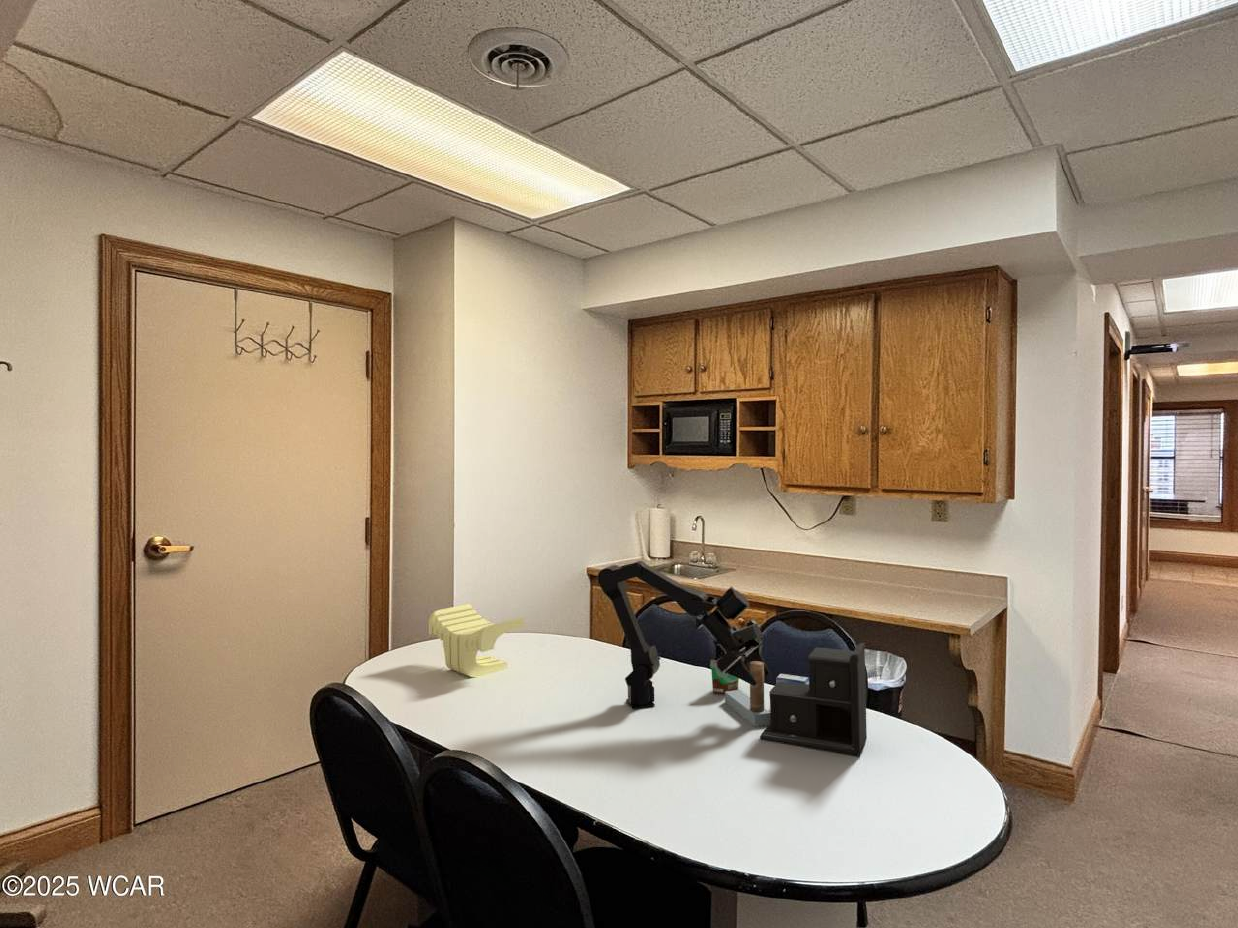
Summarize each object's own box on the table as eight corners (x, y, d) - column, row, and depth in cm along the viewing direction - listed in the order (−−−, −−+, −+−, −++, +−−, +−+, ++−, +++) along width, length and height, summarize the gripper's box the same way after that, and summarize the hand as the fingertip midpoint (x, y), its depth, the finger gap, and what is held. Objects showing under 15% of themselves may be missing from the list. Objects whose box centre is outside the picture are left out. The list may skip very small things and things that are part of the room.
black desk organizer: (759, 740, 171) (758, 643, 171) (771, 724, 181) (770, 632, 180) (860, 758, 160) (859, 655, 160) (867, 740, 170) (866, 642, 170)
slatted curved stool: (429, 665, 234) (428, 611, 233) (470, 655, 245) (469, 603, 245) (482, 686, 213) (481, 627, 212) (524, 673, 224) (523, 617, 224)
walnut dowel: (754, 712, 180) (753, 665, 180) (747, 707, 184) (747, 661, 184) (766, 711, 181) (766, 664, 181) (760, 706, 185) (759, 660, 185)
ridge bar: (754, 726, 179) (754, 714, 179) (725, 702, 196) (724, 691, 196) (770, 724, 180) (770, 712, 180) (740, 700, 198) (739, 689, 198)
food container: (729, 699, 199) (729, 663, 199) (710, 694, 202) (709, 660, 202) (749, 687, 209) (749, 653, 208) (731, 683, 212) (730, 649, 212)
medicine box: (776, 709, 191) (775, 677, 191) (780, 703, 195) (780, 672, 195) (805, 714, 187) (805, 681, 187) (809, 708, 191) (809, 676, 191)
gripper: (727, 619, 176) (770, 670, 171) (755, 605, 192) (795, 651, 186) (699, 646, 181) (740, 697, 175) (728, 630, 196) (767, 676, 191)
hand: (762, 679), depth 182 cm, fingers open, 9 cm apart
